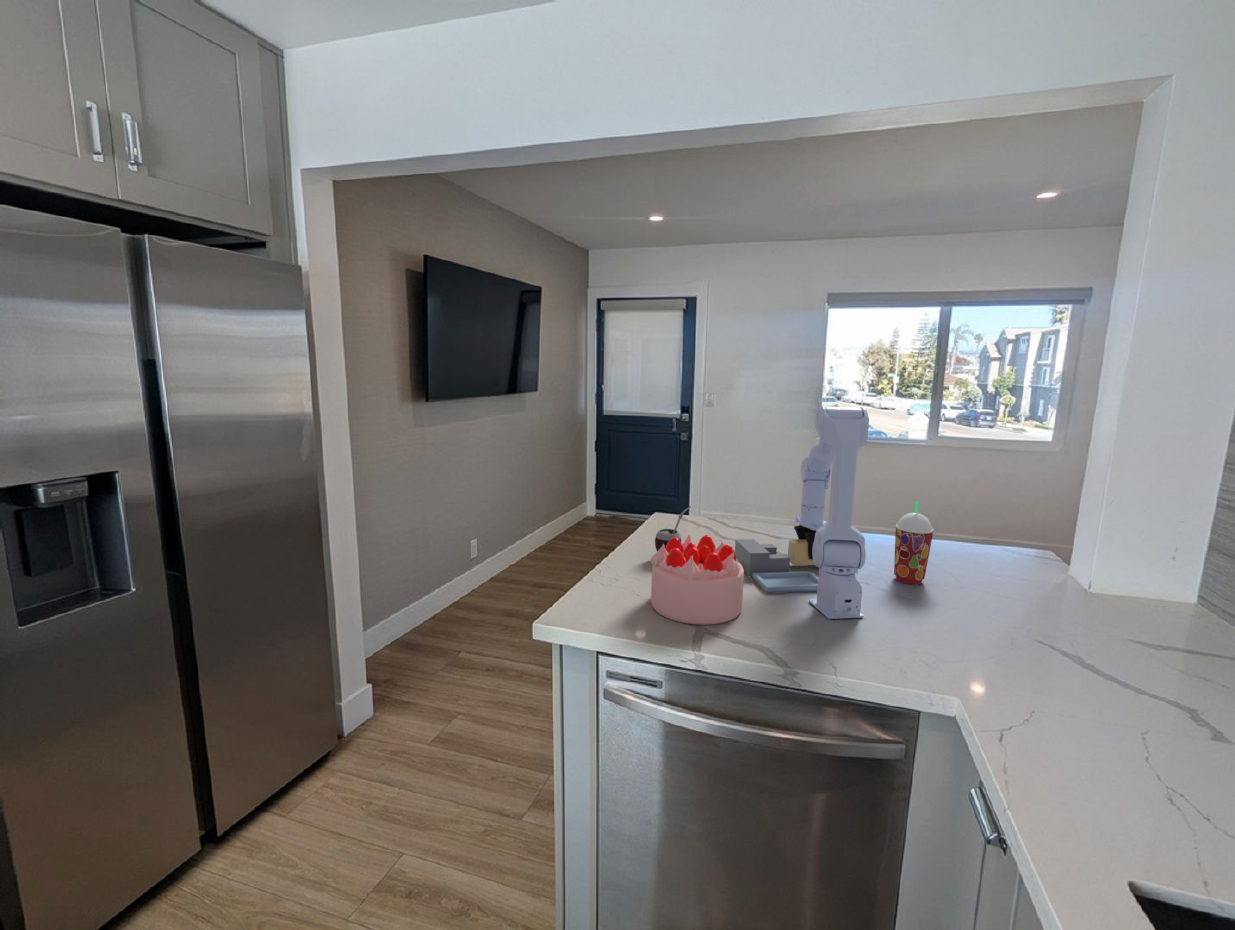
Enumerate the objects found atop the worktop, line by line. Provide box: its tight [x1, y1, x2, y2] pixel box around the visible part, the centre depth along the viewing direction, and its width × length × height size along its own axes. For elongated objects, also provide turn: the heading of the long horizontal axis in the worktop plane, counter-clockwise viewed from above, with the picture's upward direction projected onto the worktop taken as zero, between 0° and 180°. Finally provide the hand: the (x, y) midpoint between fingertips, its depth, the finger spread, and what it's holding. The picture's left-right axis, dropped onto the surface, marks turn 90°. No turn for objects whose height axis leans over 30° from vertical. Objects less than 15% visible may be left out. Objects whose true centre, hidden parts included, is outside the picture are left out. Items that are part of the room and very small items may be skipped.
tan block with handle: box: [787, 539, 816, 566], centre depth 153 cm, size 4×11×6 cm, turn 98°
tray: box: [752, 570, 819, 594], centre depth 140 cm, size 9×15×2 cm, turn 98°
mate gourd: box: [654, 506, 692, 552], centre depth 155 cm, size 8×8×15 cm
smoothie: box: [893, 501, 935, 586], centre depth 143 cm, size 8×8×20 cm
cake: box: [649, 534, 745, 626], centre depth 126 cm, size 20×20×14 cm
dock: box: [734, 538, 791, 577], centre depth 151 cm, size 11×10×6 cm
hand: (809, 555), depth 153 cm, fingers closed on tan block with handle, 4 cm apart
